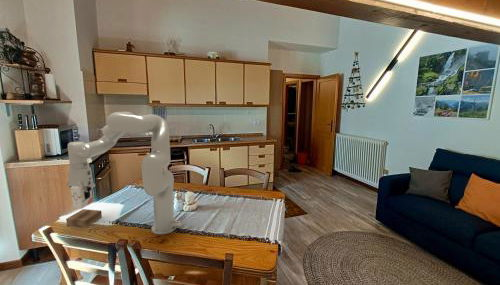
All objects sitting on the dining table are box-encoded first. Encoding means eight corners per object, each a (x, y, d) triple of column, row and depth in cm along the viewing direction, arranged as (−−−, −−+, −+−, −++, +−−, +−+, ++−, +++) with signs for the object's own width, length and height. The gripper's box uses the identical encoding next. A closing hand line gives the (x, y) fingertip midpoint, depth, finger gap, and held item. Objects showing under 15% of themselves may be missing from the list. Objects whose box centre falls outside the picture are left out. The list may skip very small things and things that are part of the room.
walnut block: (101, 217, 132) (101, 210, 131) (86, 228, 121) (85, 220, 120) (83, 216, 133) (83, 209, 132) (67, 226, 122) (66, 218, 121)
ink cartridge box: (84, 201, 130) (81, 176, 127) (93, 201, 129) (90, 176, 127) (72, 208, 121) (69, 181, 118) (81, 208, 121) (78, 182, 118)
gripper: (99, 164, 125) (102, 195, 128) (68, 162, 125) (72, 194, 128) (89, 168, 117) (93, 201, 121) (56, 166, 118) (61, 200, 121)
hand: (82, 197), depth 125 cm, fingers closed on ink cartridge box, 5 cm apart
